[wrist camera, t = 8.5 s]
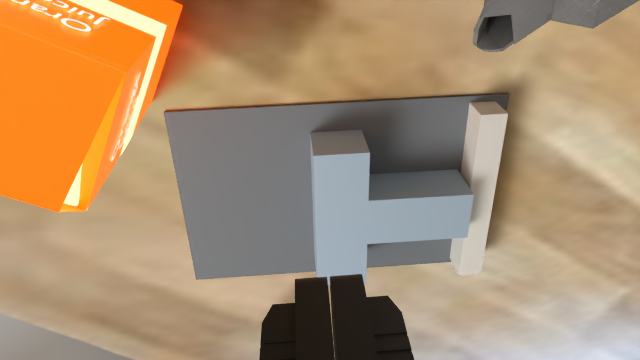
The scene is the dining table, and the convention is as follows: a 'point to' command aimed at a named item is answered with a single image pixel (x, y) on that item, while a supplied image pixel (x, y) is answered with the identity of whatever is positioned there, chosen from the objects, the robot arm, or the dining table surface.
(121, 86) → the orange juice
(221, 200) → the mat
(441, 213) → the t block
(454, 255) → the rail
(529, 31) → the coffeepot
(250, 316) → the dining table surface
